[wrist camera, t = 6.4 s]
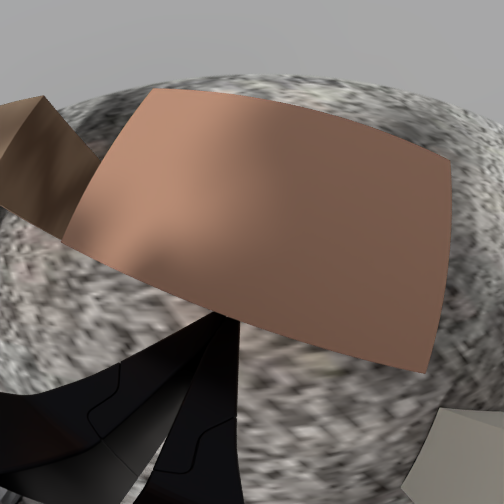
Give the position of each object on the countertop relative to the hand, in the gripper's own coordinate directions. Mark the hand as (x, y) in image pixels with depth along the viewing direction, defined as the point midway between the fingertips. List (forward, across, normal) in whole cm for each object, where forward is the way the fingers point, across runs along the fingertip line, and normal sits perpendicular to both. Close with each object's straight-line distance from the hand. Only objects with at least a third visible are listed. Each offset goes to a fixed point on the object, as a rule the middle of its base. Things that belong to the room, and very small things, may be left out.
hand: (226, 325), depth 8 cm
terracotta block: (+7, 0, +2) cm, 7 cm away
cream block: (+1, -18, +8) cm, 20 cm away
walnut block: (+7, +18, +2) cm, 19 cm away
